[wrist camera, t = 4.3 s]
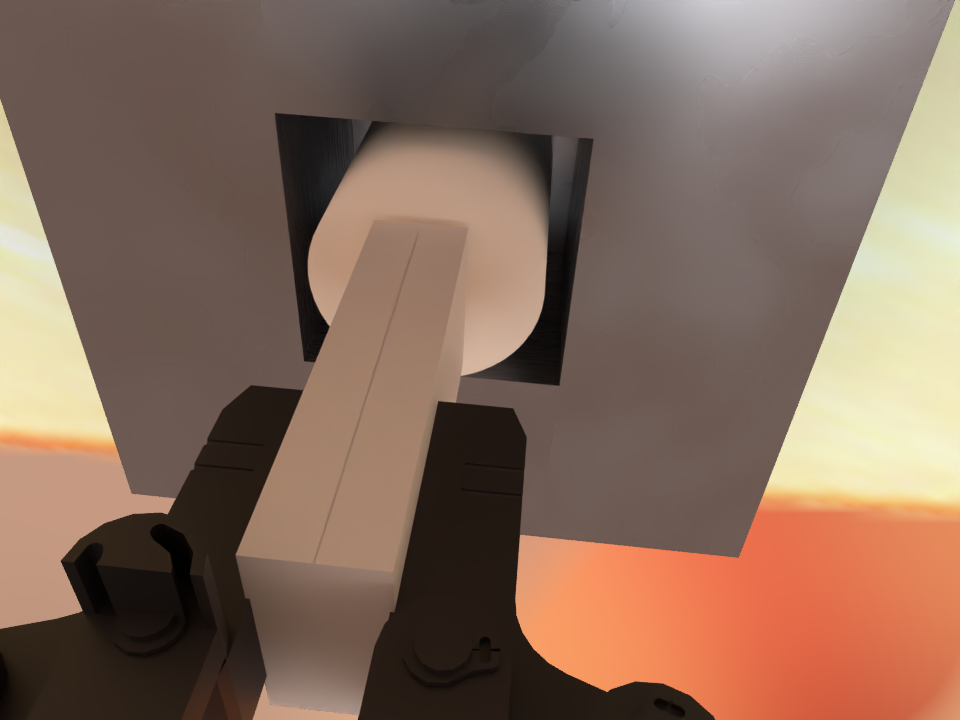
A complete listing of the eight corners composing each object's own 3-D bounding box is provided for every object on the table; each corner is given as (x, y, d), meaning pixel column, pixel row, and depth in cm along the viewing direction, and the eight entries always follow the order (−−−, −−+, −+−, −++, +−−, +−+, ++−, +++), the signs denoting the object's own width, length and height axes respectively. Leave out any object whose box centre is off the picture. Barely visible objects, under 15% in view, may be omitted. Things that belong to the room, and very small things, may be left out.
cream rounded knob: (364, 58, 16) (296, 164, 12) (562, 73, 16) (556, 186, 12) (372, 232, 19) (317, 367, 15) (543, 247, 19) (533, 387, 15)
